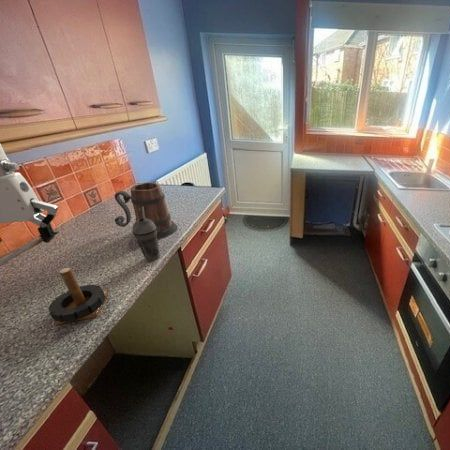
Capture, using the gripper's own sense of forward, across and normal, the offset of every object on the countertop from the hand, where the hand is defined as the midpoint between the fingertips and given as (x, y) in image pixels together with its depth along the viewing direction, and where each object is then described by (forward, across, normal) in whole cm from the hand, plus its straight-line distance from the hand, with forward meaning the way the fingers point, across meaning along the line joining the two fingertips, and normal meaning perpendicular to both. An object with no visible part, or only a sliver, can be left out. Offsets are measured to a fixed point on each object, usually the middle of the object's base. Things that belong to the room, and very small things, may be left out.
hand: (23, 242), depth 58 cm
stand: (+22, -6, +1) cm, 23 cm away
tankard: (+22, -15, -43) cm, 51 cm away
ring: (+21, -5, +1) cm, 21 cm away
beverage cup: (+22, -19, -20) cm, 36 cm away
